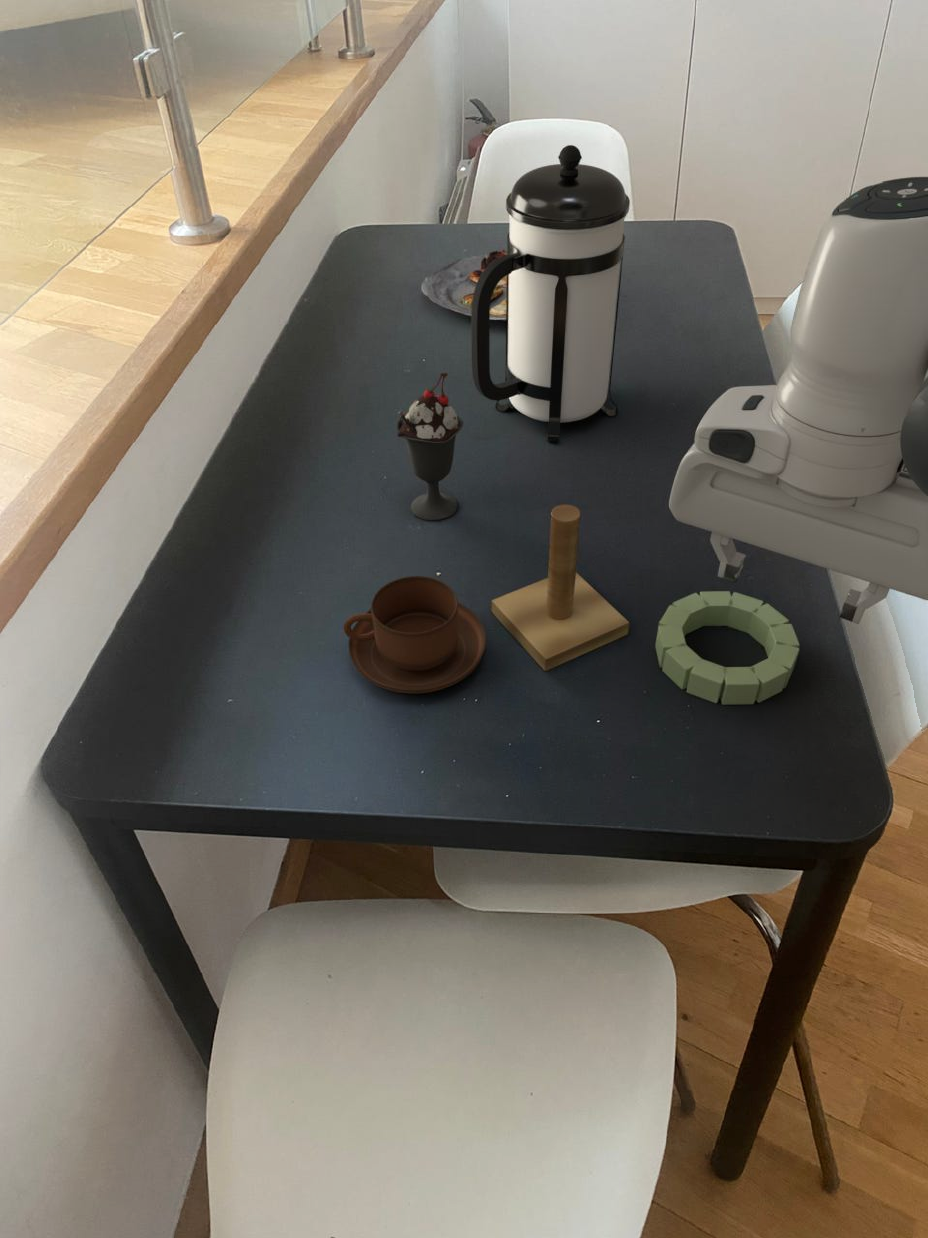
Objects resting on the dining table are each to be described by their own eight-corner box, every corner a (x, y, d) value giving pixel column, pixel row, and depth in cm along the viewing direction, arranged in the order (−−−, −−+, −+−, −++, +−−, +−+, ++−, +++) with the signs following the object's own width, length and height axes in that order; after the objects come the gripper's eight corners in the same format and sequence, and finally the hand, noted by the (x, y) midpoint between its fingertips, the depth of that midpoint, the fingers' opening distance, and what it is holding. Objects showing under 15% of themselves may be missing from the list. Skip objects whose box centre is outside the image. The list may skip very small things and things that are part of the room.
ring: (820, 671, 79) (827, 651, 78) (717, 724, 75) (722, 704, 73) (728, 596, 87) (733, 575, 85) (630, 640, 83) (633, 619, 81)
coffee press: (498, 376, 119) (499, 121, 99) (622, 386, 116) (650, 126, 96) (471, 448, 107) (467, 173, 86) (610, 461, 104) (639, 180, 84)
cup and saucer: (377, 723, 76) (370, 671, 72) (333, 632, 84) (325, 581, 80) (508, 679, 79) (509, 627, 75) (454, 596, 88) (452, 545, 83)
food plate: (491, 253, 150) (491, 231, 147) (618, 285, 139) (620, 262, 137) (395, 308, 135) (393, 285, 133) (528, 348, 125) (529, 324, 122)
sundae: (473, 494, 100) (471, 367, 90) (452, 530, 95) (448, 400, 85) (417, 484, 101) (408, 358, 91) (393, 519, 97) (382, 390, 87)
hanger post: (627, 634, 83) (643, 523, 75) (545, 671, 80) (551, 559, 71) (570, 579, 89) (579, 470, 80) (491, 612, 86) (491, 502, 77)
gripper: (1010, 459, 59) (939, 617, 69) (707, 383, 67) (680, 533, 77) (994, 510, 55) (921, 670, 65) (674, 422, 63) (650, 575, 73)
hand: (788, 595), depth 71 cm, fingers open, 8 cm apart
